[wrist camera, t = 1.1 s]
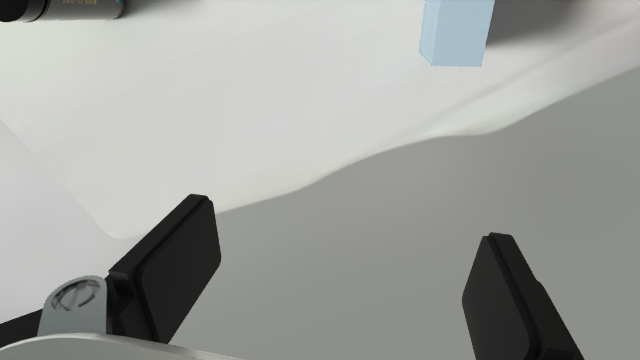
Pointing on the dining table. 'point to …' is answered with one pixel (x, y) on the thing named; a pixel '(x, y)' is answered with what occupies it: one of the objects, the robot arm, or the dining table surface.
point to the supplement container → (60, 10)
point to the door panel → (455, 31)
